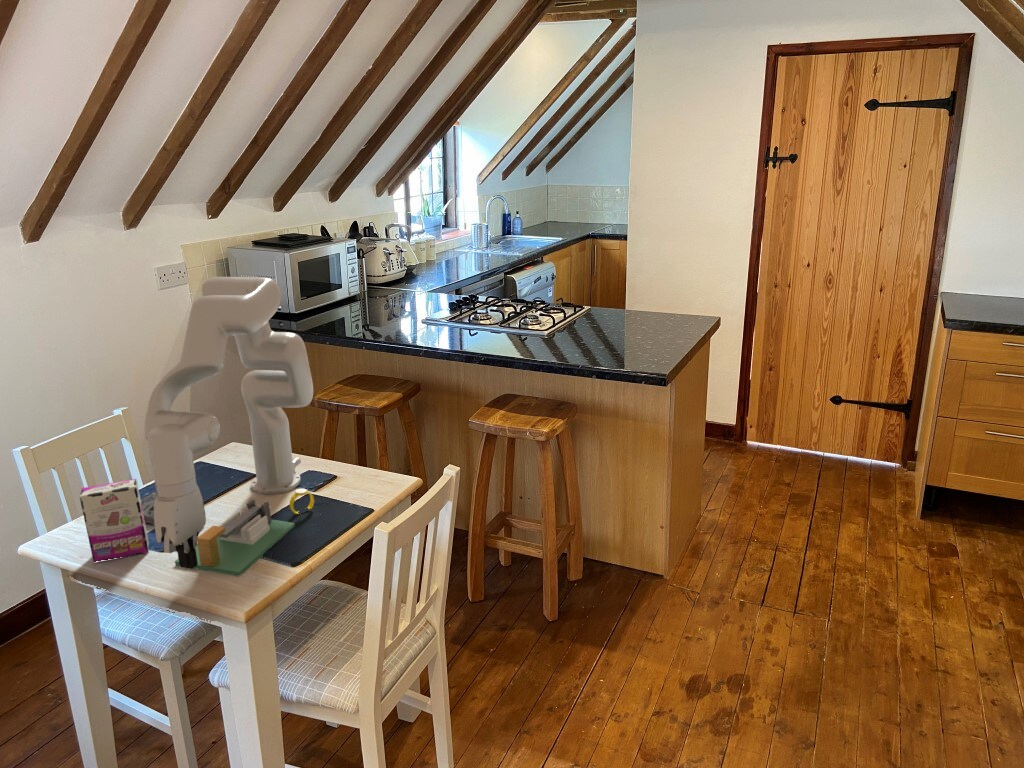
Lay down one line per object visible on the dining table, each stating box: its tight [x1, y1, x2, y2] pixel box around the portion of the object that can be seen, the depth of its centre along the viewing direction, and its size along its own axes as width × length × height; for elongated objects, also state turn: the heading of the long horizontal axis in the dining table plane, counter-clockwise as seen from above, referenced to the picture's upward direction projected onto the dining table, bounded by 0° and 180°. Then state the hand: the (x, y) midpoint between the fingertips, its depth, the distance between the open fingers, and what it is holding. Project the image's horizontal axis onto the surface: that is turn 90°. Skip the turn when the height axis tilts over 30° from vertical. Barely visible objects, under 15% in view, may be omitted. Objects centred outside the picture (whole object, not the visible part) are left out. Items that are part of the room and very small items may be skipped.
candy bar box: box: [79, 478, 150, 563], centre depth 170 cm, size 11×5×16 cm, turn 114°
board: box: [174, 499, 296, 577], centre depth 175 cm, size 22×16×6 cm
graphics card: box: [141, 492, 157, 525], centre depth 188 cm, size 17×4×12 cm
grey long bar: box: [219, 503, 262, 538], centre depth 176 cm, size 14×2×1 cm, turn 164°
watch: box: [289, 488, 315, 515], centre depth 190 cm, size 6×3×6 cm, turn 133°
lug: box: [197, 525, 226, 567], centre depth 167 cm, size 6×3×6 cm, turn 164°
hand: (188, 566), depth 160 cm, fingers closed
